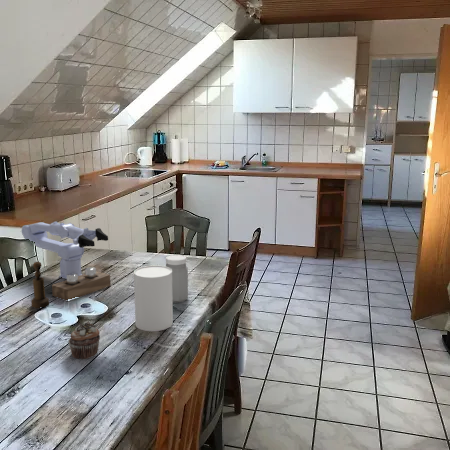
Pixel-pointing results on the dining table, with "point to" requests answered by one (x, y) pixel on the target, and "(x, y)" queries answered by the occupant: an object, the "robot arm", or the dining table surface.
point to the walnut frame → (81, 286)
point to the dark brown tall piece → (39, 289)
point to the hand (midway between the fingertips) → (100, 241)
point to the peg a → (72, 279)
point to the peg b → (90, 272)
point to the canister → (153, 298)
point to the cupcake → (84, 341)
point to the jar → (178, 277)
